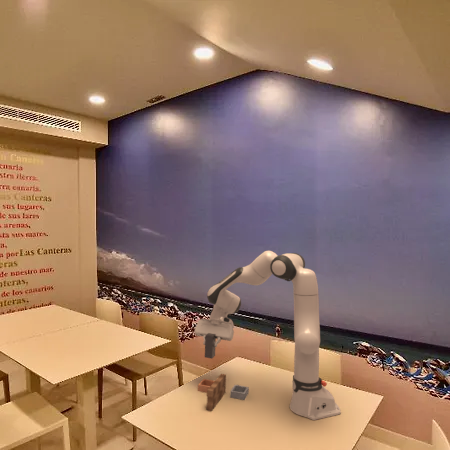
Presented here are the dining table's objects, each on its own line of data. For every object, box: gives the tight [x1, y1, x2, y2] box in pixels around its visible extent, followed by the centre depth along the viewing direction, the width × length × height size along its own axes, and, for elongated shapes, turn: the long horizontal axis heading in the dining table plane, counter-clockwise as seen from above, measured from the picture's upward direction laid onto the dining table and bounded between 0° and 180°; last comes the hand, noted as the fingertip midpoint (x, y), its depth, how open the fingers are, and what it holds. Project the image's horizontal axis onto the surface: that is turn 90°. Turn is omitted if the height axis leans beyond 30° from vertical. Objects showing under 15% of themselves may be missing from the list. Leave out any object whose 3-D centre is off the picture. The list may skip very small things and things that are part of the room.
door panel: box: [206, 373, 227, 412], centre depth 165 cm, size 18×4×9 cm, turn 160°
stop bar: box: [204, 333, 217, 360], centre depth 176 cm, size 4×4×11 cm
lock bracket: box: [197, 378, 216, 394], centre depth 177 cm, size 7×7×3 cm
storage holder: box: [229, 384, 250, 401], centre depth 171 cm, size 7×7×3 cm
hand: (209, 345), depth 175 cm, fingers closed on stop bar, 4 cm apart
